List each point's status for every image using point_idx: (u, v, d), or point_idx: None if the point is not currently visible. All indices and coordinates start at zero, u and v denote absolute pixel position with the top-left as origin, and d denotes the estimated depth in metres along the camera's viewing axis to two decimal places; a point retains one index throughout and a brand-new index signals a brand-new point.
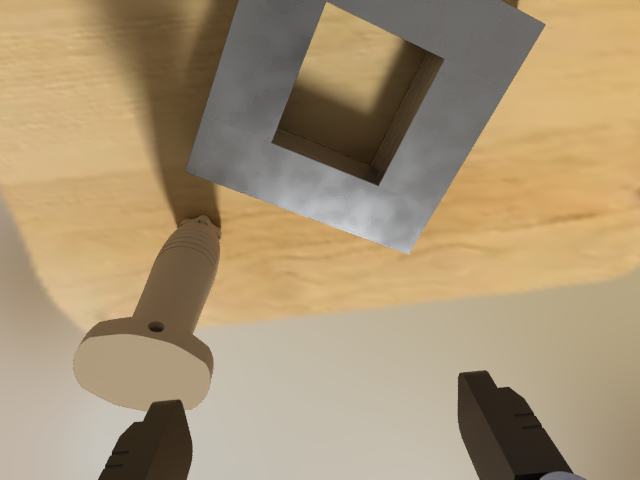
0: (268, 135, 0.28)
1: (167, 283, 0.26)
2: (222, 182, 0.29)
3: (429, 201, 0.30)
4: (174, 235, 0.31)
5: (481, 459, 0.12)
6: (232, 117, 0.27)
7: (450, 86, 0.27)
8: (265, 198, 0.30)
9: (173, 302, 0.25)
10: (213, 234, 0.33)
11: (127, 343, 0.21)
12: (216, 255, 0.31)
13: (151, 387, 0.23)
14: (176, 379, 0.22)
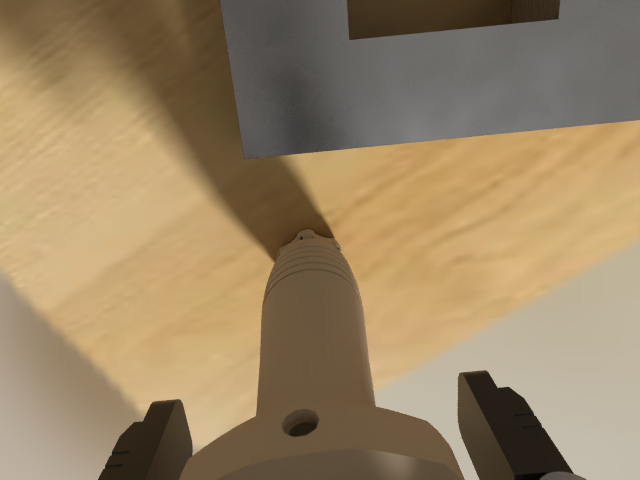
0: (339, 29, 0.16)
1: (291, 334, 0.14)
2: (305, 146, 0.17)
3: None
4: (274, 268, 0.20)
5: (481, 459, 0.12)
6: (272, 29, 0.16)
7: None
8: (379, 139, 0.17)
9: (314, 361, 0.13)
10: (328, 244, 0.21)
11: None
12: (347, 269, 0.19)
13: None
14: None
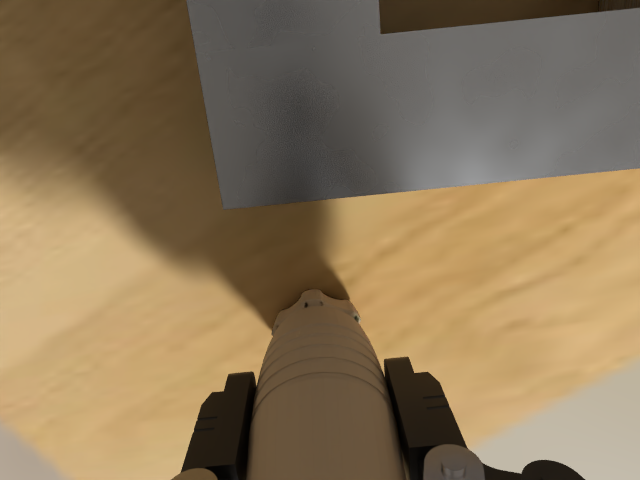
0: (365, 17, 0.10)
1: None
2: (313, 192, 0.12)
3: None
4: (268, 356, 0.14)
5: None
6: (262, 18, 0.10)
7: None
8: (423, 181, 0.12)
9: None
10: (344, 317, 0.15)
11: None
12: (372, 361, 0.13)
13: None
14: None
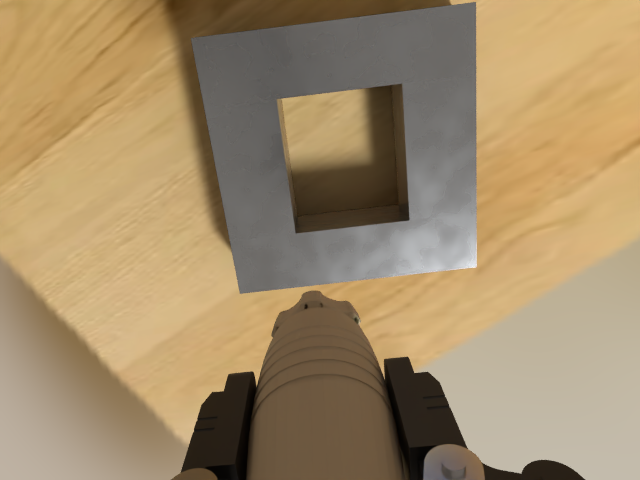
0: (289, 228, 0.30)
1: None
2: (274, 286, 0.31)
3: (466, 209, 0.29)
4: (268, 358, 0.14)
5: None
6: (253, 229, 0.30)
7: (422, 102, 0.27)
8: (316, 281, 0.31)
9: None
10: (343, 319, 0.15)
11: None
12: (372, 362, 0.13)
13: None
14: None
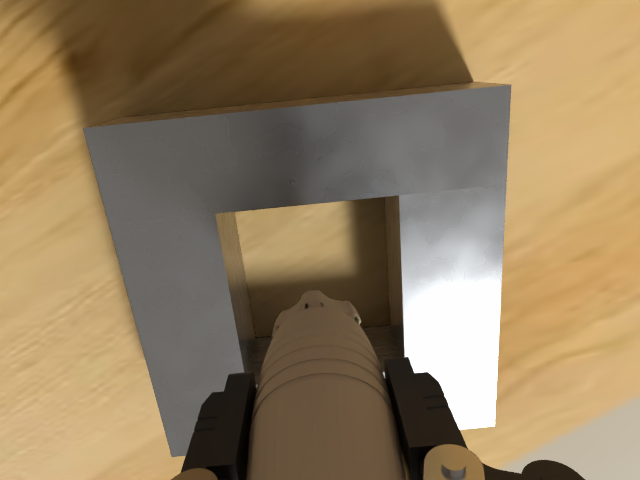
0: None
1: None
2: None
3: (483, 356, 0.21)
4: (269, 358, 0.14)
5: None
6: (187, 380, 0.21)
7: (427, 220, 0.19)
8: None
9: None
10: (344, 318, 0.15)
11: None
12: (372, 362, 0.13)
13: None
14: None
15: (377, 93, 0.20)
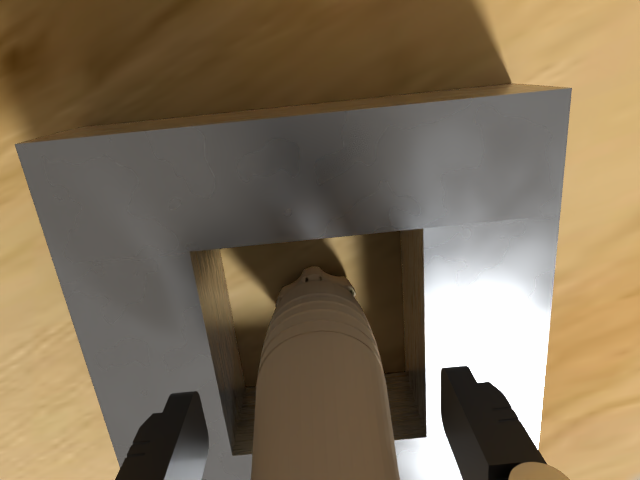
0: (222, 449, 0.17)
1: (293, 442, 0.10)
2: None
3: (523, 421, 0.17)
4: (273, 322, 0.16)
5: (461, 452, 0.12)
6: None
7: (458, 259, 0.15)
8: None
9: None
10: (340, 290, 0.17)
11: None
12: (364, 325, 0.15)
13: None
14: None
15: (394, 98, 0.16)
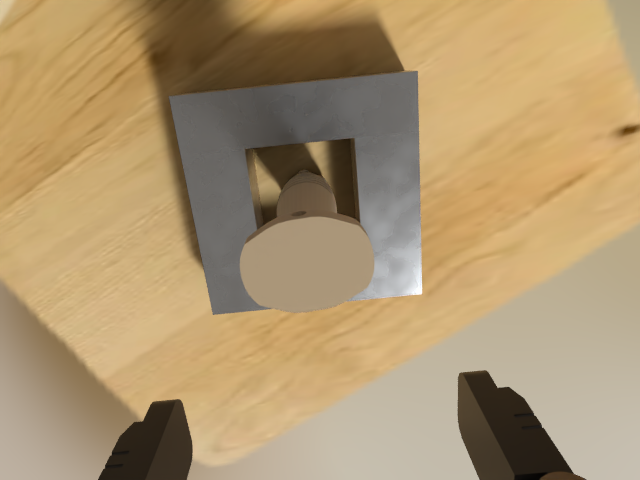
0: None
1: (294, 203, 0.26)
2: (243, 308, 0.35)
3: (411, 244, 0.34)
4: (284, 187, 0.32)
5: (481, 459, 0.12)
6: (224, 260, 0.34)
7: (372, 153, 0.31)
8: None
9: (306, 209, 0.25)
10: (317, 175, 0.33)
11: (279, 235, 0.21)
12: (328, 186, 0.32)
13: (320, 278, 0.22)
14: (339, 257, 0.22)
15: (342, 77, 0.32)
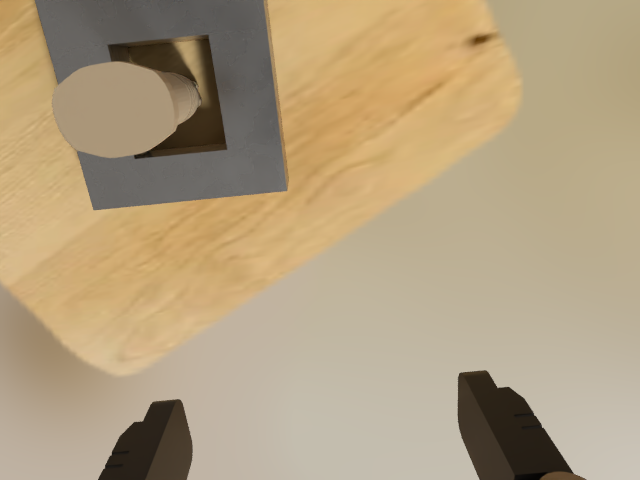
0: None
1: None
2: (121, 204, 0.38)
3: (272, 141, 0.36)
4: None
5: (481, 459, 0.12)
6: None
7: (226, 50, 0.34)
8: (156, 201, 0.38)
9: None
10: (183, 76, 0.36)
11: (84, 79, 0.24)
12: (187, 81, 0.34)
13: (127, 123, 0.25)
14: (141, 102, 0.25)
15: None
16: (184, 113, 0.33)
